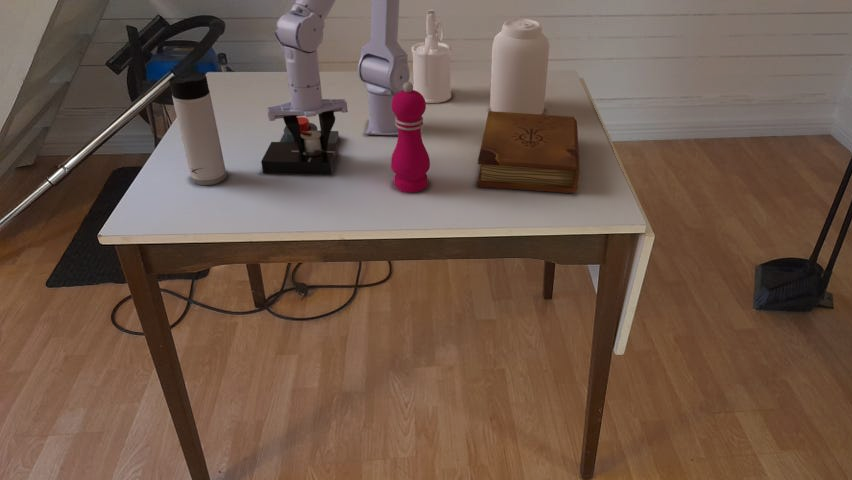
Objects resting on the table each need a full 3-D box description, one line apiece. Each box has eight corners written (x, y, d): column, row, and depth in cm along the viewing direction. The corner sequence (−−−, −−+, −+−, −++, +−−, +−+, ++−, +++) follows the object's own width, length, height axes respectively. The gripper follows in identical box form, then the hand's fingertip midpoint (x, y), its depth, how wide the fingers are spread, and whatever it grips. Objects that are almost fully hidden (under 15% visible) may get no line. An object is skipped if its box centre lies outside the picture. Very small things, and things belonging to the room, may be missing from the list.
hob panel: (338, 154, 142) (337, 142, 140) (332, 175, 135) (330, 162, 134) (273, 153, 142) (271, 140, 140) (263, 173, 135) (261, 160, 133)
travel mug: (195, 189, 129) (170, 84, 117) (189, 173, 134) (164, 71, 122) (230, 182, 132) (209, 78, 120) (223, 167, 136) (202, 66, 125)
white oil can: (418, 86, 173) (416, 2, 161) (455, 90, 171) (456, 6, 160) (406, 103, 164) (403, 15, 153) (445, 107, 163) (445, 19, 151)
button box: (339, 137, 149) (337, 122, 147) (333, 152, 143) (332, 136, 141) (286, 136, 148) (284, 120, 146) (279, 151, 143) (276, 135, 141)
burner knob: (327, 150, 138) (325, 131, 136) (315, 158, 135) (313, 139, 133) (310, 145, 139) (308, 127, 137) (298, 153, 136) (295, 135, 134)
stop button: (311, 126, 145) (310, 117, 144) (307, 134, 142) (306, 124, 141) (293, 126, 145) (292, 116, 144) (290, 133, 142) (288, 124, 141)
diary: (576, 194, 132) (580, 166, 129) (477, 187, 133) (478, 159, 130) (574, 141, 151) (577, 115, 147) (487, 135, 152) (488, 110, 148)
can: (553, 108, 164) (561, 21, 153) (527, 126, 156) (533, 35, 144) (507, 96, 170) (511, 11, 158) (479, 113, 161) (482, 24, 149)
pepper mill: (415, 198, 129) (412, 93, 117) (384, 187, 132) (378, 84, 120) (437, 182, 134) (437, 80, 122) (407, 172, 137) (403, 72, 125)
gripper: (266, 94, 124) (277, 164, 131) (348, 85, 128) (354, 153, 136) (261, 80, 129) (272, 148, 137) (340, 72, 133) (346, 138, 141)
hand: (312, 149), depth 137 cm, fingers closed on burner knob, 4 cm apart
